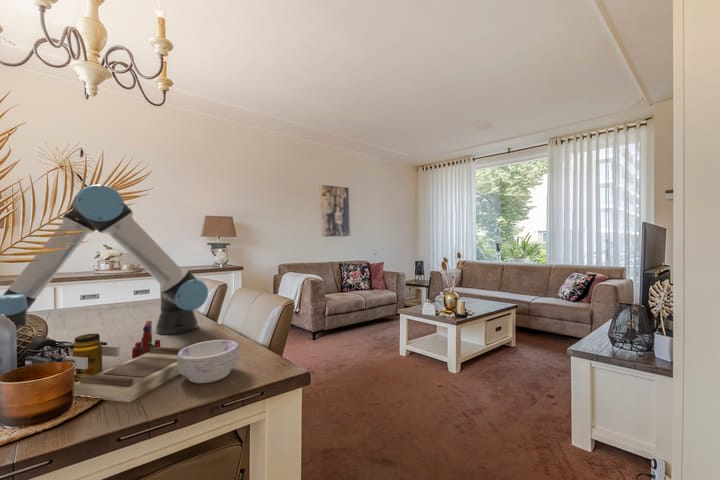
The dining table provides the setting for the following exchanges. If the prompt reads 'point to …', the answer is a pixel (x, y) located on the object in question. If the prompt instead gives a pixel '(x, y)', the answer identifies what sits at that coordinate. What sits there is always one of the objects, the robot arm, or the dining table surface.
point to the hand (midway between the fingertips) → (103, 357)
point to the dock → (131, 376)
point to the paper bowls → (208, 360)
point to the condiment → (88, 354)
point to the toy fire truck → (145, 342)
